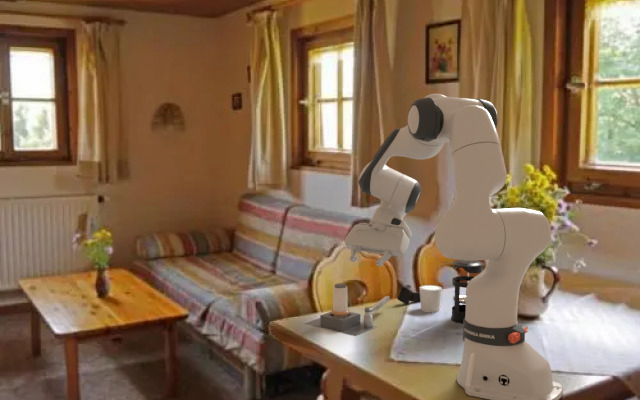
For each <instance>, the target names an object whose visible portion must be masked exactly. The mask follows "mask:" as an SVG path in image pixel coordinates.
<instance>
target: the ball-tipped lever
mask: <svg viewBox="0 0 640 400" xmlns="http://www.w3.org/2000/svg"><path fill="white" fill-rule="evenodd" d="M390 299H391V298H390V296H388V295H385V296H384V297H383V298H381V299H380V300H379V301H377V302H376V303H375V304H373V305H372V306H371V307H369V306H368V307H364V315H365V316H370V315H374V313H375V312H377V311H378V310H379V309H380V308H382V307H383V306H384V305H386V304H387V303H388V302H390Z"/></svg>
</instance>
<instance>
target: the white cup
mask: <svg viewBox="0 0 640 400" xmlns="http://www.w3.org/2000/svg"><path fill="white" fill-rule="evenodd" d="M419 293H420V302H419V303H420V310H421V311H422V312H426V313H437V312H439V311H440V309H441V301H442V294H443V287H441V286H439V285H435V284H434V285H433V284H432V285H431V284H424V285H421V286H419Z"/></svg>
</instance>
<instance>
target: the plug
mask: <svg viewBox="0 0 640 400" xmlns="http://www.w3.org/2000/svg"><path fill="white" fill-rule="evenodd" d="M348 296H349V295H348V285H347V284H346V283H341V282H340V283H339V282H338V283H335V284H334V285H333V286H332V298H333V300H332V301H333V302H332V306H333V309H331V311H332V315H333V316H334V317H338V318H344V317H347V316H348V315H349V312H350V309H348V308H349V307H348V306H349V305H348V303H349V301H348Z"/></svg>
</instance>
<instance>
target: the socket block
mask: <svg viewBox="0 0 640 400" xmlns="http://www.w3.org/2000/svg"><path fill="white" fill-rule="evenodd" d="M373 315H374V314H372V315H370V316H365V314H364V315H363V323H362V322H361V313H359V312H358V313H357V312H353V311H349V315H348V316H347V317H344V318H338V317H334V316H333V315H332V310H331V311H329V312H326V313H323V314H321V315H320V317H318V318H316V319H313V320H310V321H307V322H304V324H306V325H309V326H312V327H316V328H321V329H325V330H329V331H334V332H337V333H342V334H345V335H349V336H354V337H356V336H359V335H362V334H364V333H366V332H368V331H371V330H373V329H374V330H375V329H376V328H377V326H376V325H375V326H373V324H374V323H373V320H374V318H373Z"/></svg>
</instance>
